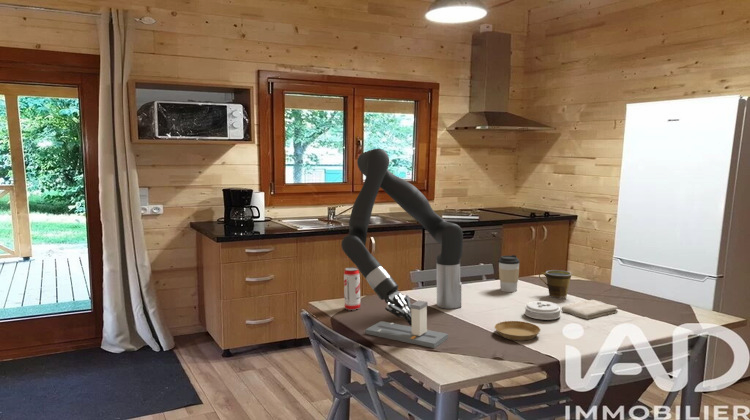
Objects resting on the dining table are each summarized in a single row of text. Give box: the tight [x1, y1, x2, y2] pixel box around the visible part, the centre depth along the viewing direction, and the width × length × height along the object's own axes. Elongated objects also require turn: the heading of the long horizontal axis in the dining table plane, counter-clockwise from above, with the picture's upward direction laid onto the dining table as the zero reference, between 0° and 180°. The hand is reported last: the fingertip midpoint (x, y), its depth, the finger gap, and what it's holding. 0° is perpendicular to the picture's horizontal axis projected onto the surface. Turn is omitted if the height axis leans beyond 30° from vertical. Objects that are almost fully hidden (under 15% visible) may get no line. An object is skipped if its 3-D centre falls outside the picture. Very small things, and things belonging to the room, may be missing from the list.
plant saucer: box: [494, 320, 541, 342], centre depth 175 cm, size 15×15×3 cm
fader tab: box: [410, 300, 429, 336], centre depth 173 cm, size 3×5×10 cm, turn 147°
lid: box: [524, 300, 562, 321], centre depth 194 cm, size 13×13×5 cm
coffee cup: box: [497, 254, 520, 293], centre depth 229 cm, size 9×9×15 cm
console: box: [365, 320, 449, 349], centre depth 176 cm, size 26×10×2 cm, turn 57°
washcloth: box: [561, 299, 619, 320], centre depth 198 cm, size 12×18×3 cm, turn 119°
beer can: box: [343, 266, 361, 311], centre depth 206 cm, size 6×6×16 cm
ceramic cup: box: [538, 269, 572, 300], centre depth 219 cm, size 13×10×10 cm
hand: (413, 323), depth 174 cm, fingers closed
